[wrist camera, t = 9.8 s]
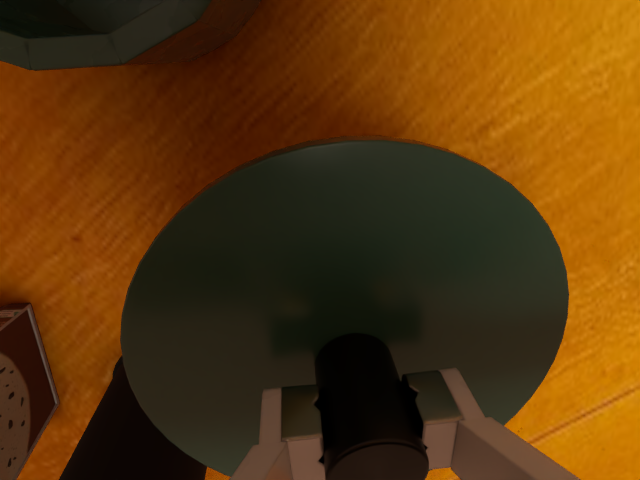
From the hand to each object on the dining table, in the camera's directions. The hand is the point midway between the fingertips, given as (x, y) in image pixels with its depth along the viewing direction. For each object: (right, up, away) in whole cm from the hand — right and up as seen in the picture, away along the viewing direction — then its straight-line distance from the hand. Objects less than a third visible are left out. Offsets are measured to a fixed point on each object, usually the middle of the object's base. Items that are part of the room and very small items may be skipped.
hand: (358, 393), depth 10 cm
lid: (0, +1, +2) cm, 2 cm away
